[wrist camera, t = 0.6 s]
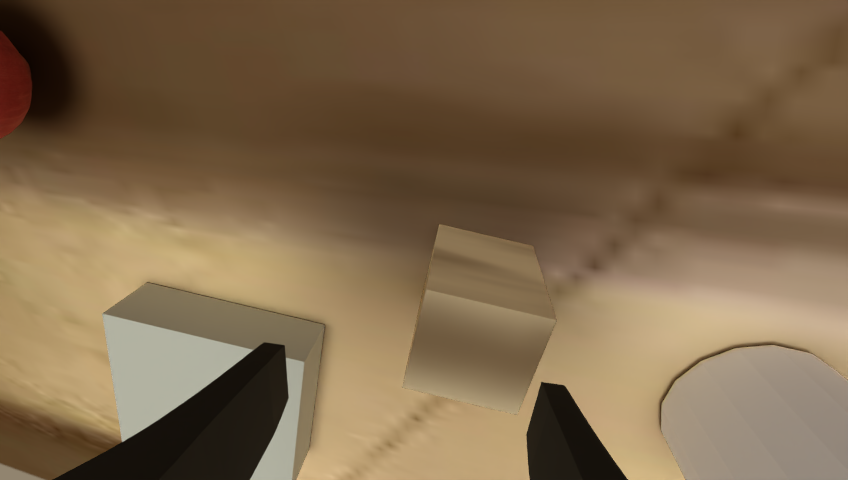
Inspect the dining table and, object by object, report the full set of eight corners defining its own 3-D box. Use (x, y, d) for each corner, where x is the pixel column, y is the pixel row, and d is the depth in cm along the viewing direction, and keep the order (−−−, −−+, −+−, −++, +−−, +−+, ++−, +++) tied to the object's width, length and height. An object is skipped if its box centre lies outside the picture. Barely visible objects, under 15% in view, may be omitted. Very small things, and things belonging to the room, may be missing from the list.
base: (309, 448, 26) (290, 493, 24) (159, 412, 27) (123, 452, 24) (324, 324, 22) (304, 362, 20) (147, 282, 22) (102, 313, 20)
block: (505, 322, 21) (517, 415, 16) (420, 302, 21) (402, 387, 16) (532, 245, 19) (556, 320, 14) (439, 223, 19) (426, 289, 14)
